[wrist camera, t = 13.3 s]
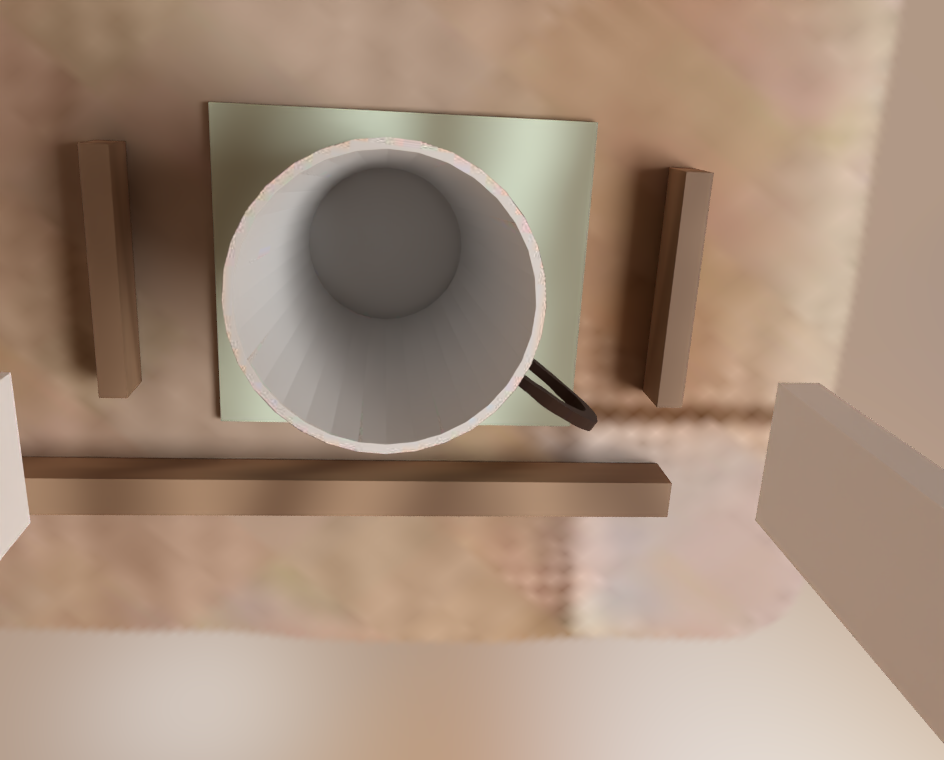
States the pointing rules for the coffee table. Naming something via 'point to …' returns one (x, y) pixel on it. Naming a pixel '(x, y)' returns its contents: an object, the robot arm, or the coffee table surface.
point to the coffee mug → (388, 298)
